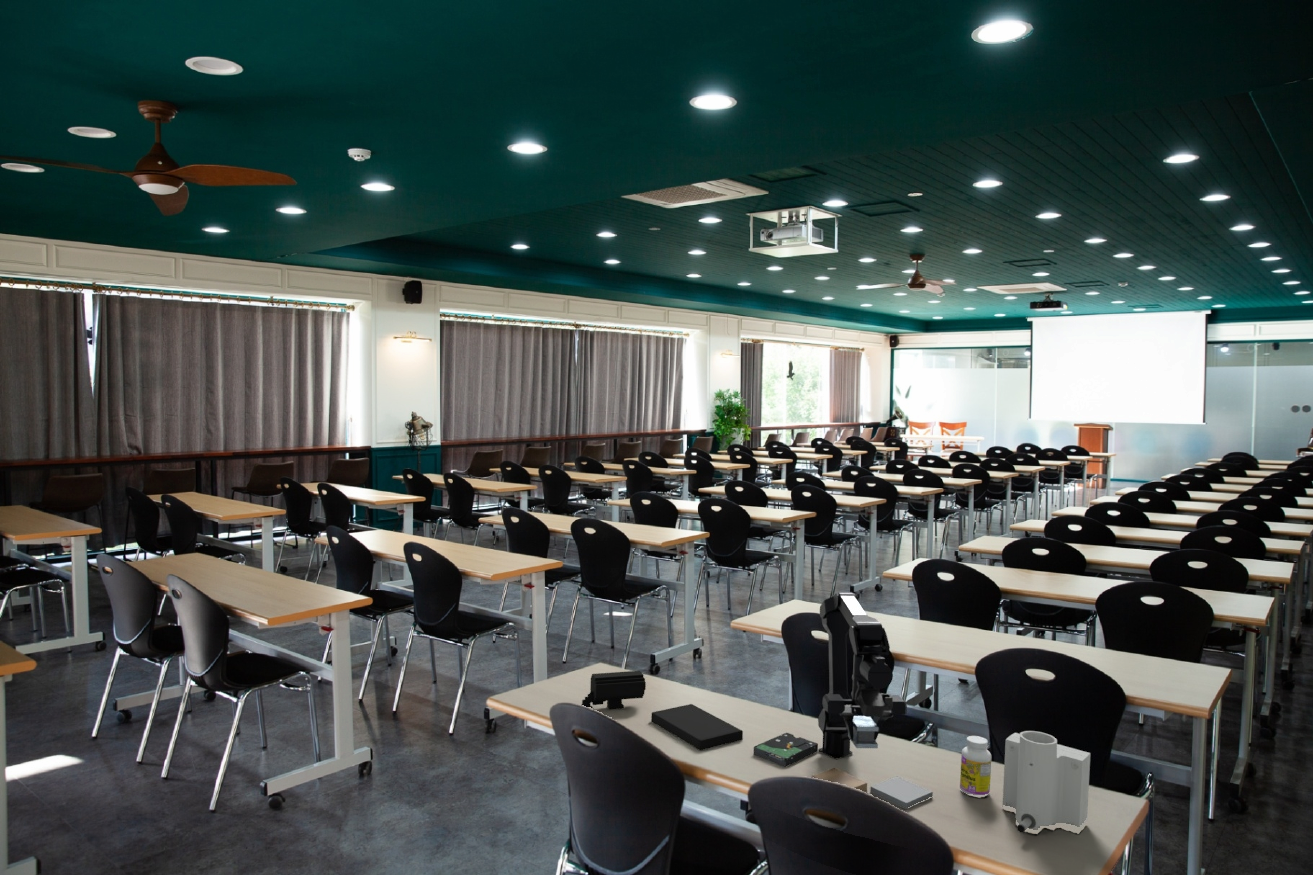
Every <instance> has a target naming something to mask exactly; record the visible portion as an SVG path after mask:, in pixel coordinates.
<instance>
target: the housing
mask: <svg viewBox="0 0 1313 875" xmlns="http://www.w3.org/2000/svg"><path fill="white" fill-rule="evenodd" d="M878 730H879V727H878V726H877V725H876V723H875V722H874V721H873V717H872V716H870V717H866V716H864V715H858V716H854V718H853V733H854V736H853V741H852V740H851V739H850V742H852V744H853V745H854V747H855V748H856V749H878V748H879V744H878V742H877V740H876V741H875V740H874V731H878ZM848 737H849V738H850V736H849V733H848Z"/></svg>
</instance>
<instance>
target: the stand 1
mask: <svg viewBox="0 0 1313 875" xmlns="http://www.w3.org/2000/svg"><path fill="white" fill-rule="evenodd" d="M812 777H814V778H818V779H823V780H828V781H831V782H838V783H840V784H846V785H847V786H849V787H854V788H856V789H860V790H862V791H866V792H868V782H867V781H865V780H863V779H860V778H858V777H856V776H853V775H851V774H849V773H847V772H845V771H843V770H840V769H838V768H836V767H832V768H829V769H827V770H823V771H821V772H818V773H816V774H812V775H811V778H812Z"/></svg>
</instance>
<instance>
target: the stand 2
mask: <svg viewBox="0 0 1313 875" xmlns="http://www.w3.org/2000/svg"><path fill="white" fill-rule="evenodd" d="M869 789H870V790H869V791H870V792H869V793H870V794H872V795H875V796H877V797H879V798H881V799H883V800H885V801H887V802H889V803H892V804H893V805H896V806H898V807H900V808H902V809H904V810H908V809H909V808H908V807H910V806H912V805H914V804H916V803H918V802H921V801H923V800H926V799H928V798H929V797H932V796H933V793H934V792H933V791H932V790H930V789H927V788H925V787H923V786H921V785H918V784H916V783H914V782H911V781H909V780H907V779H905V778H902V777H900V776H898V775H896V776H893V777H892V778H888V779H885V780H883V781H880V782H878V783H876V784H874V785H870V788H869ZM932 798H933V797H932Z"/></svg>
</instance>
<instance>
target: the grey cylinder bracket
mask: <svg viewBox="0 0 1313 875" xmlns="http://www.w3.org/2000/svg"><path fill="white" fill-rule="evenodd" d="M1004 744H1005V746H1004V753H1005V754H1004V767H1003V768H1004V769H1003V770H1004V771H1003V788H1002V806H1003V805H1005V806H1010V807H1013V808H1015V809H1016V814H1015V817H1014V818H1016V820H1017V822H1018V823H1019V825H1018V826H1017V827H1016V829H1017V831H1018V832H1019V833H1022V834H1023V833H1024V831H1025V830H1026V829H1027V828H1029V829H1033V830H1038V828H1040V826H1049V825H1055V824H1056V823H1066V824H1071V825H1075V826H1077V827H1080V825H1082V823H1084V821H1085V820H1086V818H1087V819H1088V806H1089V789H1090V787H1089V786H1090V769H1091V768H1090V767H1091V752H1087V751H1083V750H1080V749H1077V748H1074V747H1069V746H1065V745H1063V744H1060V743H1059V744H1058V739H1057V738H1055V736H1053V735H1051V734H1048V733H1045V732H1042V731H1035V730H1024V731H1021V732H1019V733H1018V732H1014V733H1012V734H1010V735H1009V736H1008V737H1006V739H1005V743H1004Z"/></svg>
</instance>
